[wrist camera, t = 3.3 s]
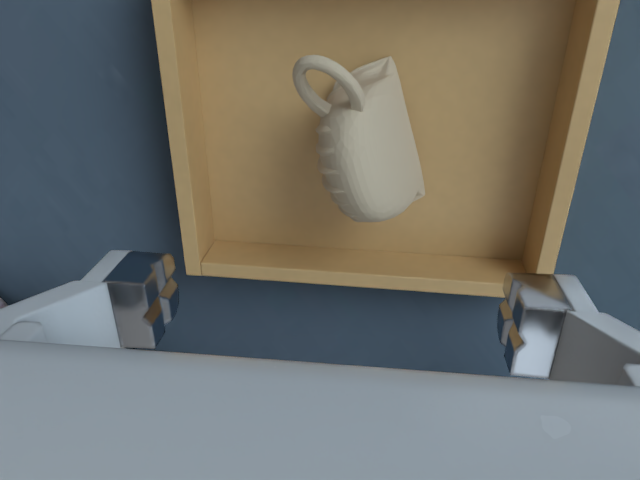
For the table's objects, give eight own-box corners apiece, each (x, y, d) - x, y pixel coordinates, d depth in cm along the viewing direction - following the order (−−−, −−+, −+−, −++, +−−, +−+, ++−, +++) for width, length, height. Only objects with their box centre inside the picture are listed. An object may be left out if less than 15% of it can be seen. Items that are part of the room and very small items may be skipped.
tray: (605, -52, 21) (634, -54, 18) (533, 271, 27) (547, 301, 25) (170, -53, 23) (143, -55, 20) (203, 249, 29) (186, 275, 27)
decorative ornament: (345, 213, 27) (335, 266, 22) (298, 45, 23) (273, 65, 19) (425, 197, 26) (432, 248, 21) (388, 19, 23) (387, 34, 18)
